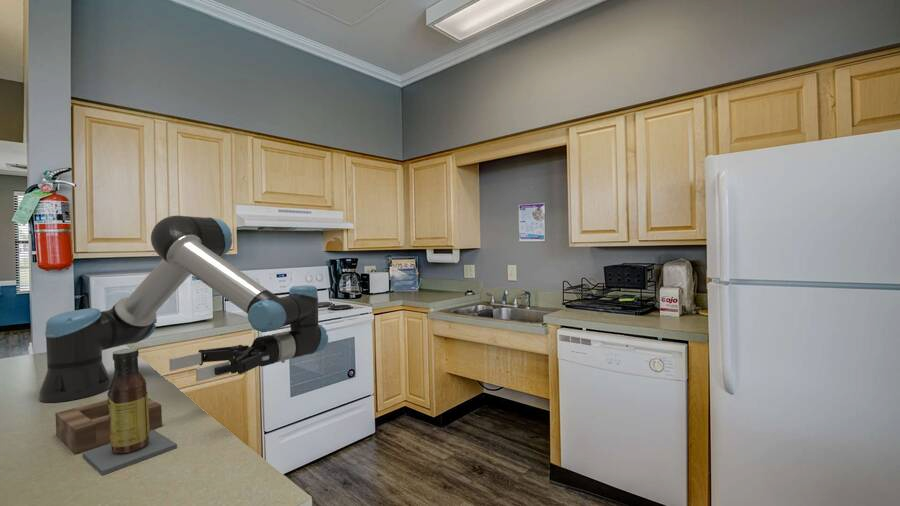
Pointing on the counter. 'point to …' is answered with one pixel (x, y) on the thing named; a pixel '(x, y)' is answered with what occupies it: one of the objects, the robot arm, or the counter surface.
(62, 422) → the rectangular frame
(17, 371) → the counter surface
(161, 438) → the mat
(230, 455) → the counter surface
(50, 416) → the counter surface
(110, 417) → the sauce bottle
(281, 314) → the robot arm
